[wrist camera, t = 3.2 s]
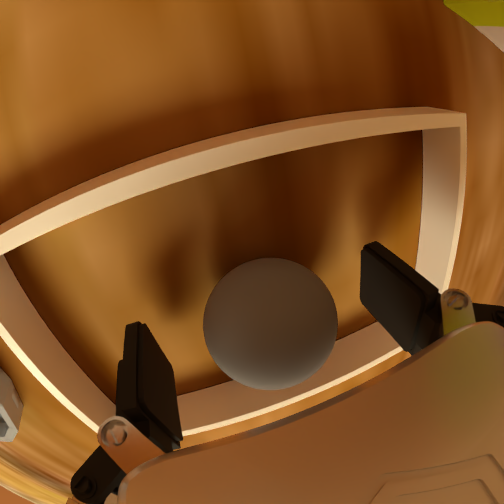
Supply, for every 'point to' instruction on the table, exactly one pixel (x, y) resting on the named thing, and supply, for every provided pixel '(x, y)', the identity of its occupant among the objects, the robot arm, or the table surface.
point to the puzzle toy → (482, 17)
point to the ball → (270, 323)
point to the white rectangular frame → (210, 159)
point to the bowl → (9, 409)
